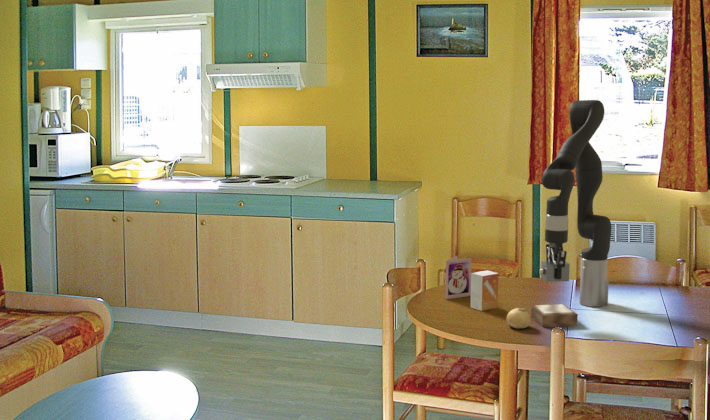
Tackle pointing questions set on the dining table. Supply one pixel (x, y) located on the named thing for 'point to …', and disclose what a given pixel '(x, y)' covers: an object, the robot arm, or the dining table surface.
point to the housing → (553, 272)
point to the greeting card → (458, 277)
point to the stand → (553, 315)
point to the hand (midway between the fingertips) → (554, 276)
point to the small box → (484, 290)
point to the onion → (518, 318)
